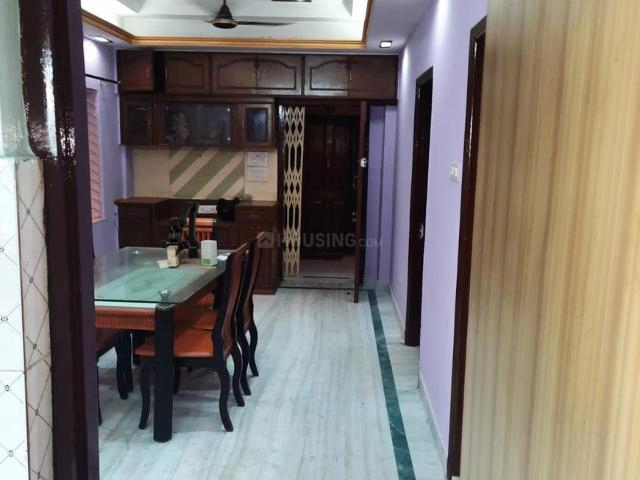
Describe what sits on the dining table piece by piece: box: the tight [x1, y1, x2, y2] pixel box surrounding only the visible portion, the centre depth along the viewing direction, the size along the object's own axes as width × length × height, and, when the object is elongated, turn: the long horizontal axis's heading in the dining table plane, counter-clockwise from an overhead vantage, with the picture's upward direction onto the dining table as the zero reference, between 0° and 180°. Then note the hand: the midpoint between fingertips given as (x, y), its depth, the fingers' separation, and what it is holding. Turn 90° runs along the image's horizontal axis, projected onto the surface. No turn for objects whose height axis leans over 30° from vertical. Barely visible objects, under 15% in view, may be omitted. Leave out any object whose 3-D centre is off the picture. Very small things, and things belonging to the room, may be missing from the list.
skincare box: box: [200, 239, 218, 266], centre depth 360 cm, size 8×7×16 cm
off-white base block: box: [156, 259, 176, 269], centre depth 360 cm, size 10×10×3 cm
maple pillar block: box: [166, 246, 180, 267], centre depth 352 cm, size 5×5×12 cm
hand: (172, 255), depth 350 cm, fingers closed on maple pillar block, 5 cm apart
